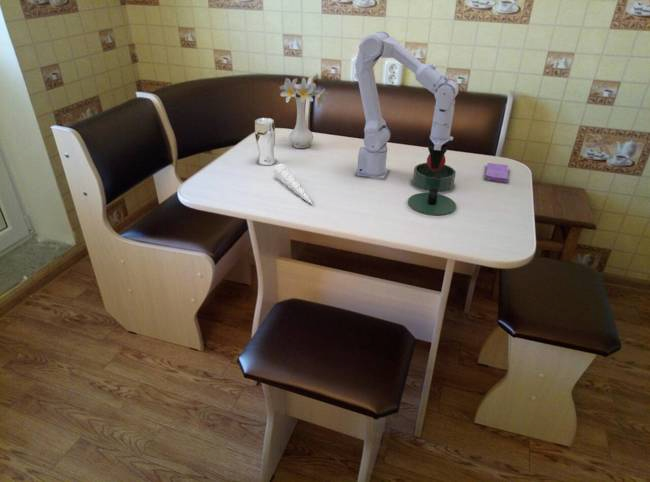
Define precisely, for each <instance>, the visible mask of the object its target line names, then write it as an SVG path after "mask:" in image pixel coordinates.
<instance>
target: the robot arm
mask: <svg viewBox="0 0 650 482" xmlns="http://www.w3.org/2000/svg"><path fill="white" fill-rule="evenodd" d="M380 58H382V59H394V60H396V61H397V62H398V63H400V64H401V65H402V66H404V67H405V68H407V70H409V71H411V72H412V73H413V74H414V76H415V81H416V82H418V83H419V84H420V85H421V86H422V87H424V88H425V89H426V90H428V91H429V92H430V93H431V94H433V95H434V98H435V105H434V110H433V117H432V123H431V129H430V135H429V139H430V141H431V144H429V145H428V147H427V149H428V152H429V154H430V156H431V168H436V169H438V168H439V165H440V162H441V159H442V157H443V155H444V156H445V154H446V153H447V151H448V148H447V145H448V144H449V142H452V141H454V136H452V135H451V132H452V131H451V130H452V126H453V125H452V124H453V119H454V113H455V104H456V97H457V96H458V94H459V90H460V87H459V84H458V83H457V81H456V80H455V79H453V78H450V77H449V75H444V74H443V73H441V71H439V70H438V69H437V66H436V65H435V64H434V63H433V64H430V63H428V62H427V63H422V62H421V61H420V60H419V59H418V58H417V57H415V56H414V55H413V54H412V53H411V52H410V51H409V50H407V48H405V47H404V46H403V45H402V44H401V43H400V42H399V41H398V40H397V39H396V38H395V37H393V36H390V35H389V33H388V32H386V31H384V30H383V31H378V32H376V33H374V34H369V35H367V36H365V37H364V39H363V40H361V42H360V43H359V45H358V54H357V57H356V60H355V63H354V64H355V65H354V68H355V73H356V79H357V82H358V88H359V92H360V93H359V94H360V97H361V103H362V108H363V113H364V118H365V125H364V129H363V132H364V137H363V146H360V147H359V150H358V154H357V166H356V167H357V169H356V176H358V177H365V178H370V177H372V178H380V179H384V178H385V176H386V175H387V173H388V170H389V169H388V168H387V158H388V157H387V156H388V145H387V143H388V142H389V141H390V139H391V131H390V128H388V126H387V123H386V122H387V121H386V120H385V119H384V118H383V115H382V110H381V104H380V99H379V93H378V87H377V83H376V82H377V81H376V75H375V70H374V67H375V66H376V64H377V63H378V62H379V60H380Z"/></svg>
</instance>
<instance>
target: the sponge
mask: <svg viewBox="0 0 650 482" xmlns="http://www.w3.org/2000/svg"><path fill="white" fill-rule="evenodd" d="M508 178H509V164H502V163H500V164H499V163H492V162H487V165H486V171H485V177H484V179H485V180H487V181H490V182H491V181H492V182H497V183H508Z"/></svg>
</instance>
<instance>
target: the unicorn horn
mask: <svg viewBox="0 0 650 482" xmlns="http://www.w3.org/2000/svg"><path fill="white" fill-rule="evenodd" d="M272 173H273V175H274V177H275V178H276V179H278V180H279V181H280V182H281V183H282V184H284V185H285V186H286V187H288V188H289V189H290V190H291V191H293V193H295V194H296V195H298V196H299V198H301V199H303V200H304V201H306V202H308V203H309V204H311V205H312V204H313V201H312V200H311V199H310V197H309V195H308V193H306V191H305V189H304V188H303V187H302V185H301V184H300V182H298V180H297V179H296V178H295V176H294V175H293V173H291V170H289V168H288V167H287V166H286V164H285V163H278V164H276V165H275V166H274V167H273V169H272Z"/></svg>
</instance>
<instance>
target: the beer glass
mask: <svg viewBox="0 0 650 482" xmlns="http://www.w3.org/2000/svg"><path fill="white" fill-rule="evenodd" d="M254 136H255V142H256V146H257V149H258V150H257V151H258V160H257V161H258V164H259V165H261V166H270V165H274V164H275V163H276V156H275V145H276V144H275V143H276V126H275V120H274V119H273V118H270V117H259V118H257V119H255V120H254Z"/></svg>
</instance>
